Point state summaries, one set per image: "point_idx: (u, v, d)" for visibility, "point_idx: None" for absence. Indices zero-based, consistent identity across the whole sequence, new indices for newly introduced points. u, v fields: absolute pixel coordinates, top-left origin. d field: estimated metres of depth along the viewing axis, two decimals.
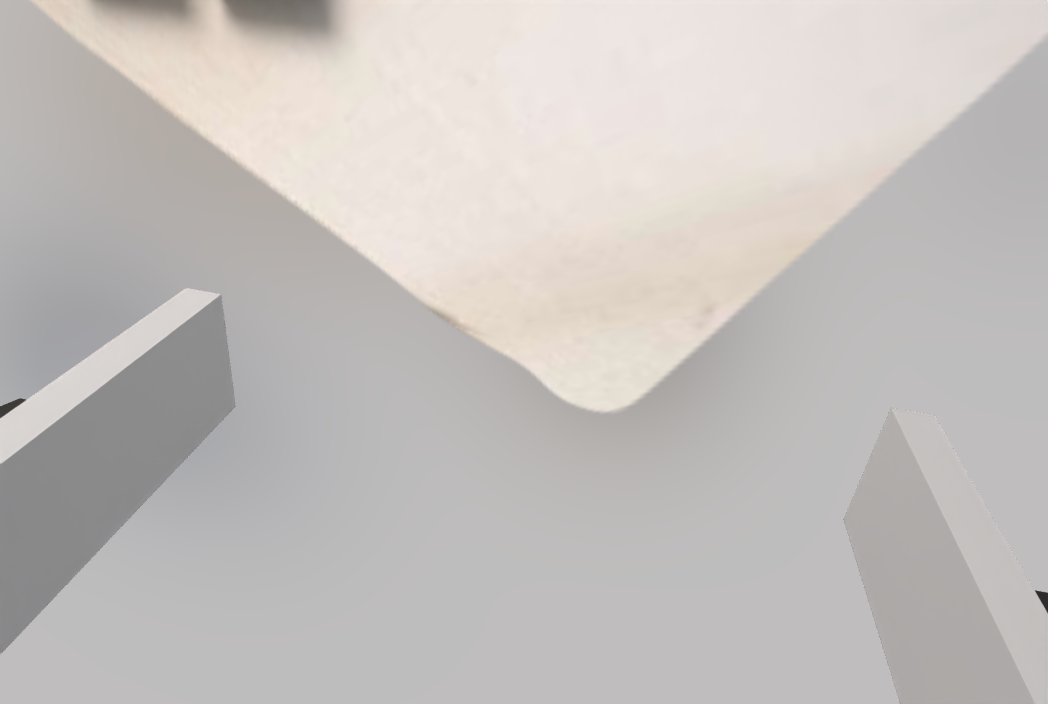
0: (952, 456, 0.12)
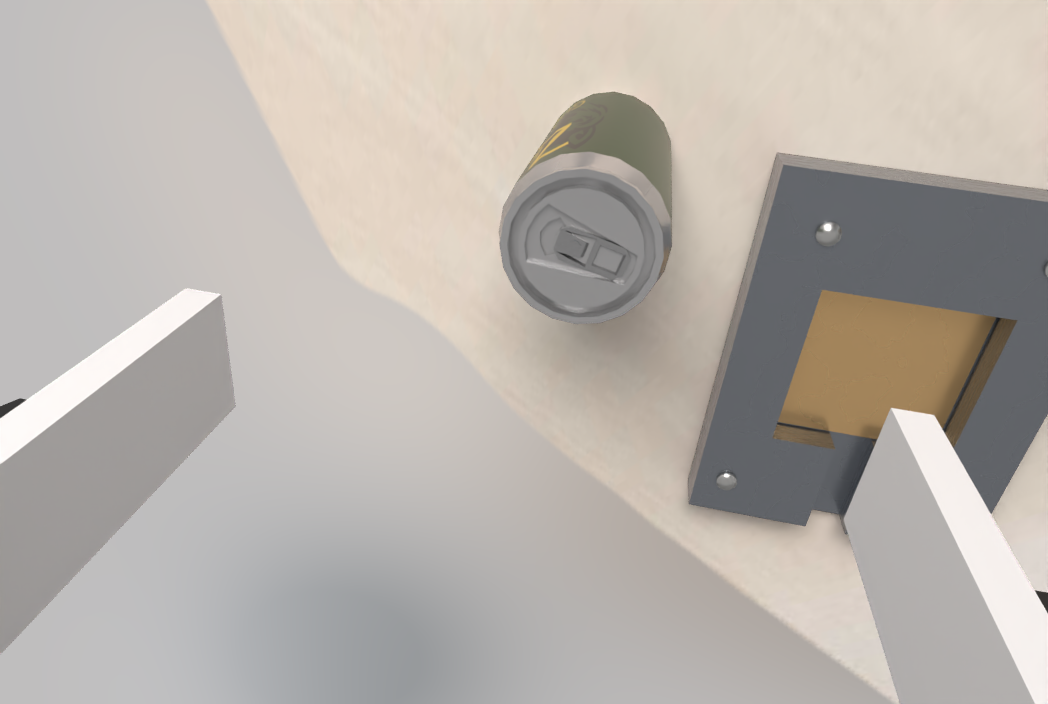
0: (952, 456, 0.12)
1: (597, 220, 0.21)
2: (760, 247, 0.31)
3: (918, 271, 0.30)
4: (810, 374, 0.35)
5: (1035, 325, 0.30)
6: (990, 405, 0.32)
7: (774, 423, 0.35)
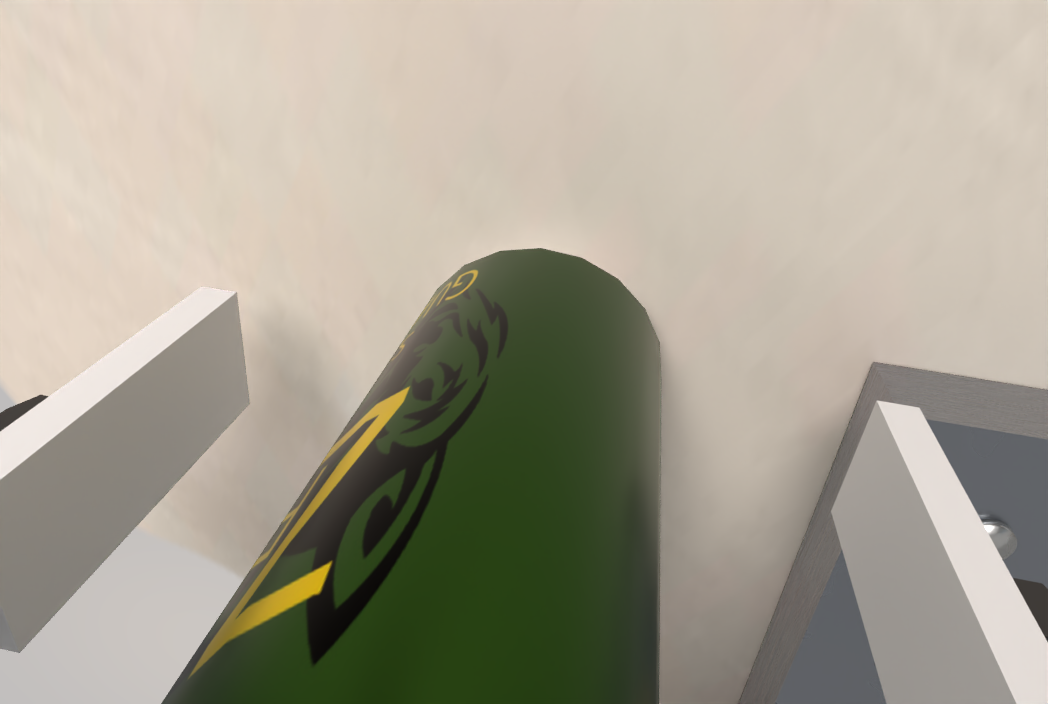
0: (935, 447, 0.12)
1: None
2: (840, 550, 0.15)
3: None
4: None
5: None
6: None
7: None
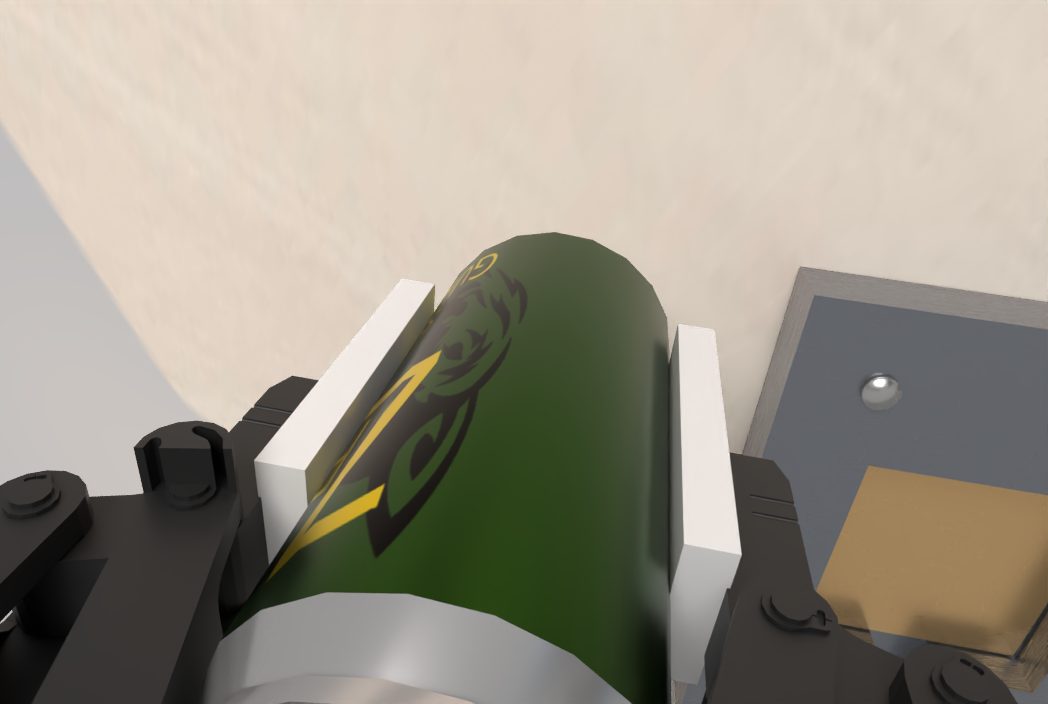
0: (713, 357, 0.14)
1: None
2: (777, 407, 0.21)
3: (1014, 445, 0.20)
4: (844, 560, 0.25)
5: None
6: None
7: None
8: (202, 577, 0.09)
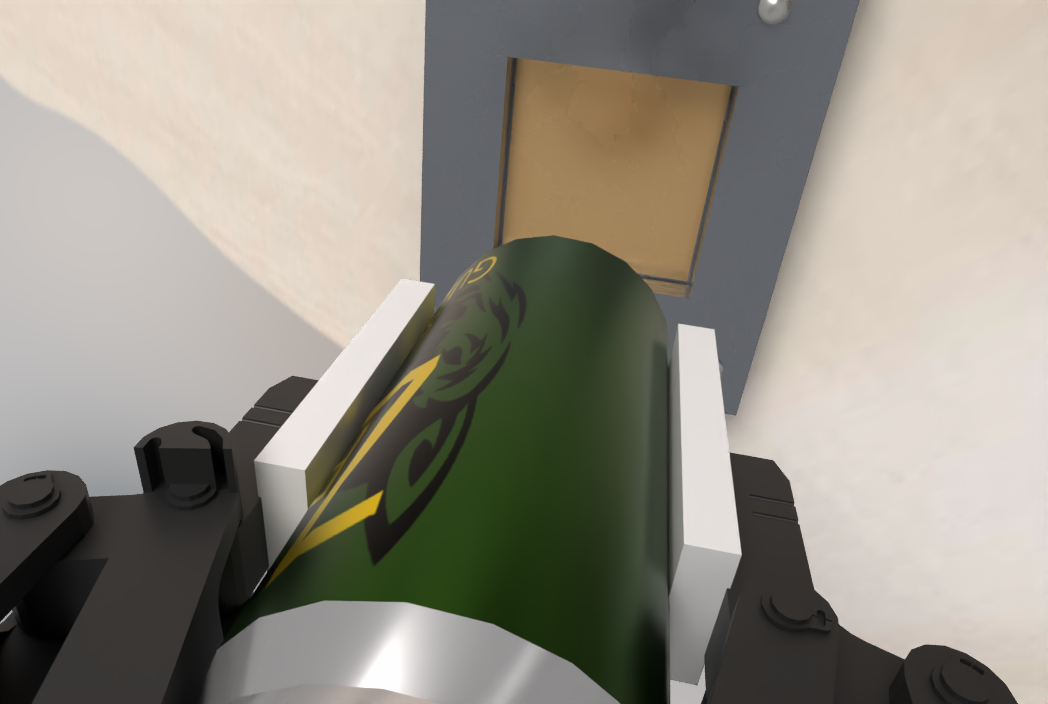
0: (713, 357, 0.14)
1: None
2: (427, 1, 0.25)
3: (612, 23, 0.24)
4: (533, 187, 0.29)
5: (761, 92, 0.24)
6: (727, 208, 0.26)
7: (490, 246, 0.29)
8: (202, 577, 0.09)
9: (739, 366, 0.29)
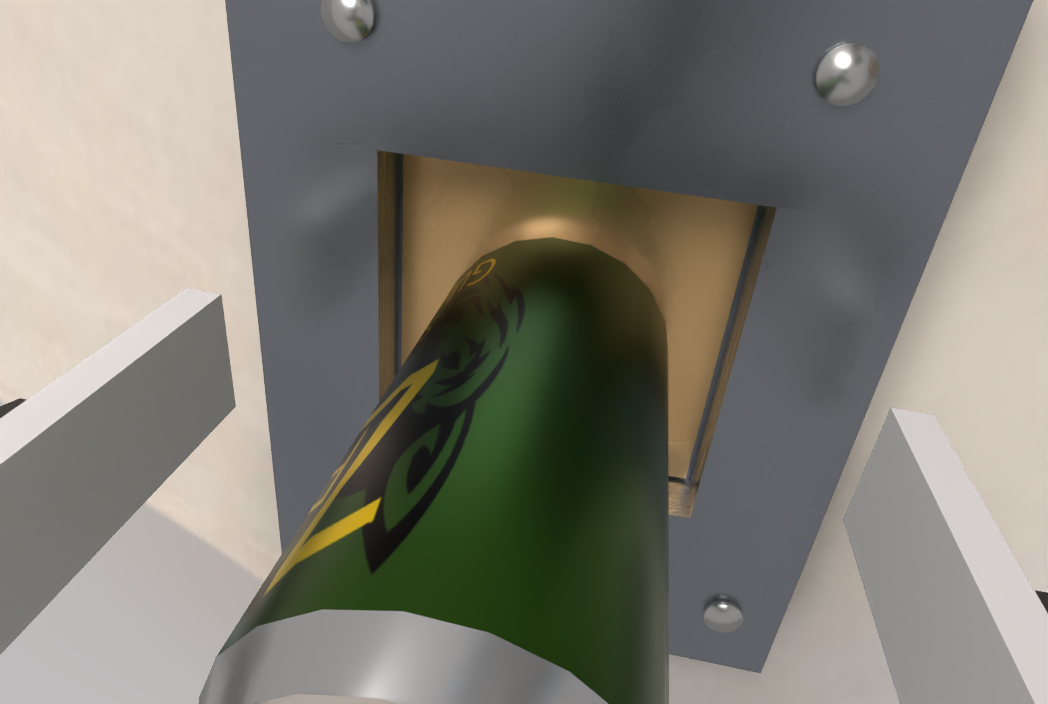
0: (952, 456, 0.12)
1: None
2: (233, 56, 0.14)
3: (553, 98, 0.14)
4: None
5: (815, 218, 0.14)
6: (753, 395, 0.16)
7: None
8: None
9: (767, 612, 0.19)
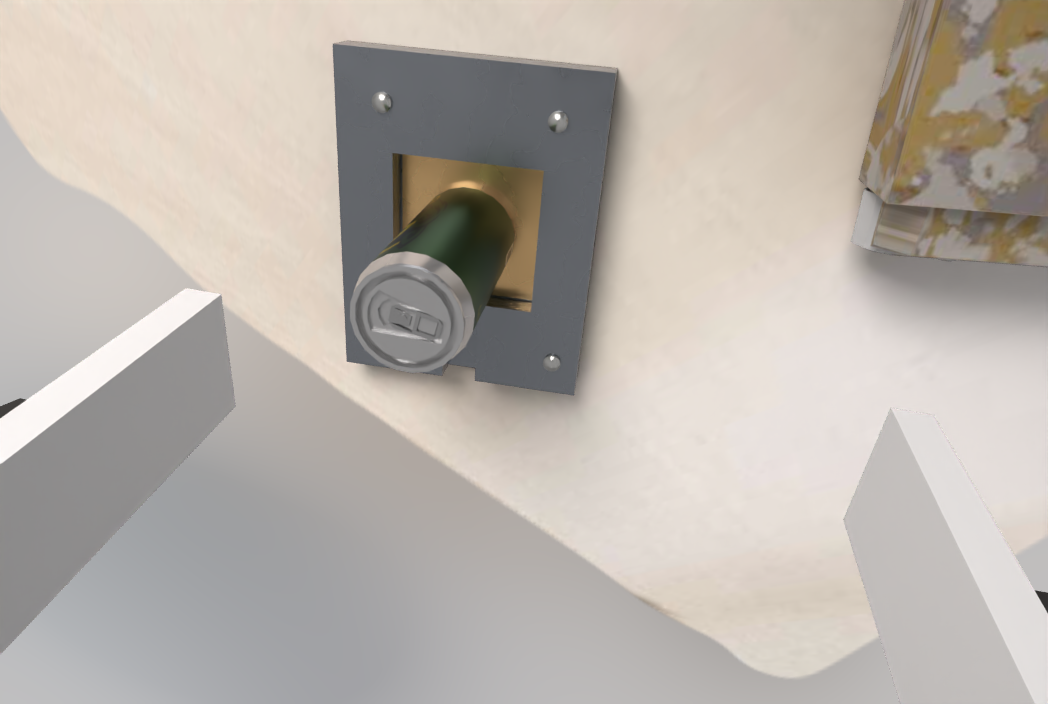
0: (952, 456, 0.12)
1: (414, 300, 0.29)
2: (336, 118, 0.37)
3: (458, 131, 0.37)
4: None
5: (558, 174, 0.37)
6: (547, 249, 0.39)
7: None
8: None
9: (571, 359, 0.42)
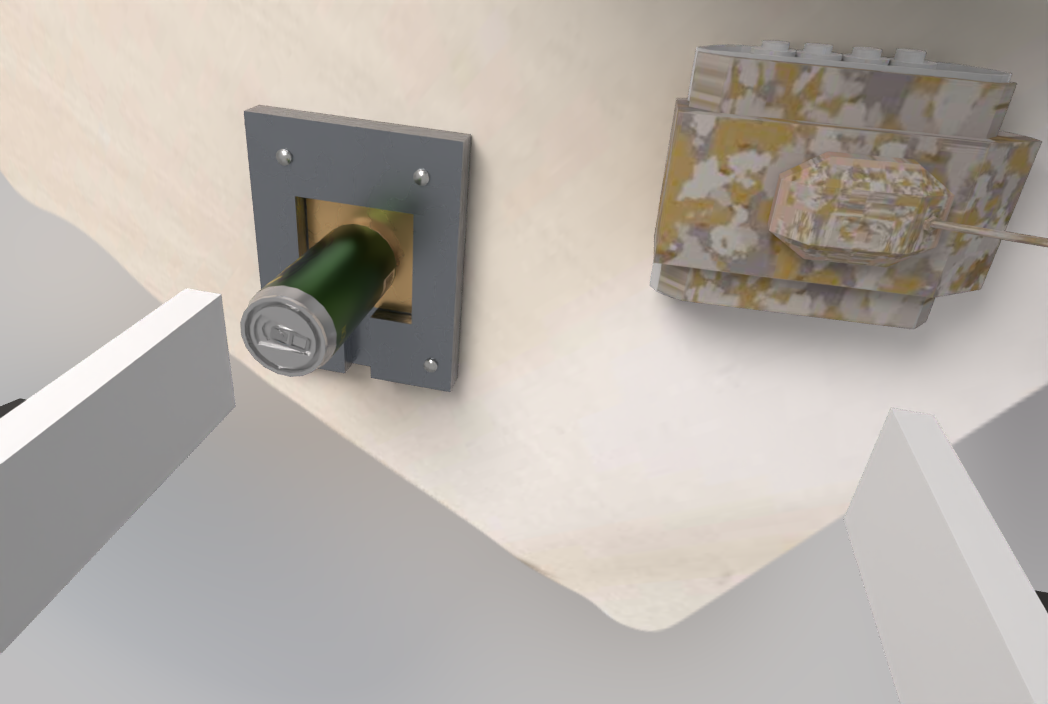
0: (952, 456, 0.12)
1: (287, 322, 0.39)
2: (250, 167, 0.46)
3: (345, 181, 0.46)
4: None
5: (424, 217, 0.46)
6: (421, 275, 0.48)
7: None
8: None
9: (446, 363, 0.51)
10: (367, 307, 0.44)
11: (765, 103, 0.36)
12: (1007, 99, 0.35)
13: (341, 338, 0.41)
